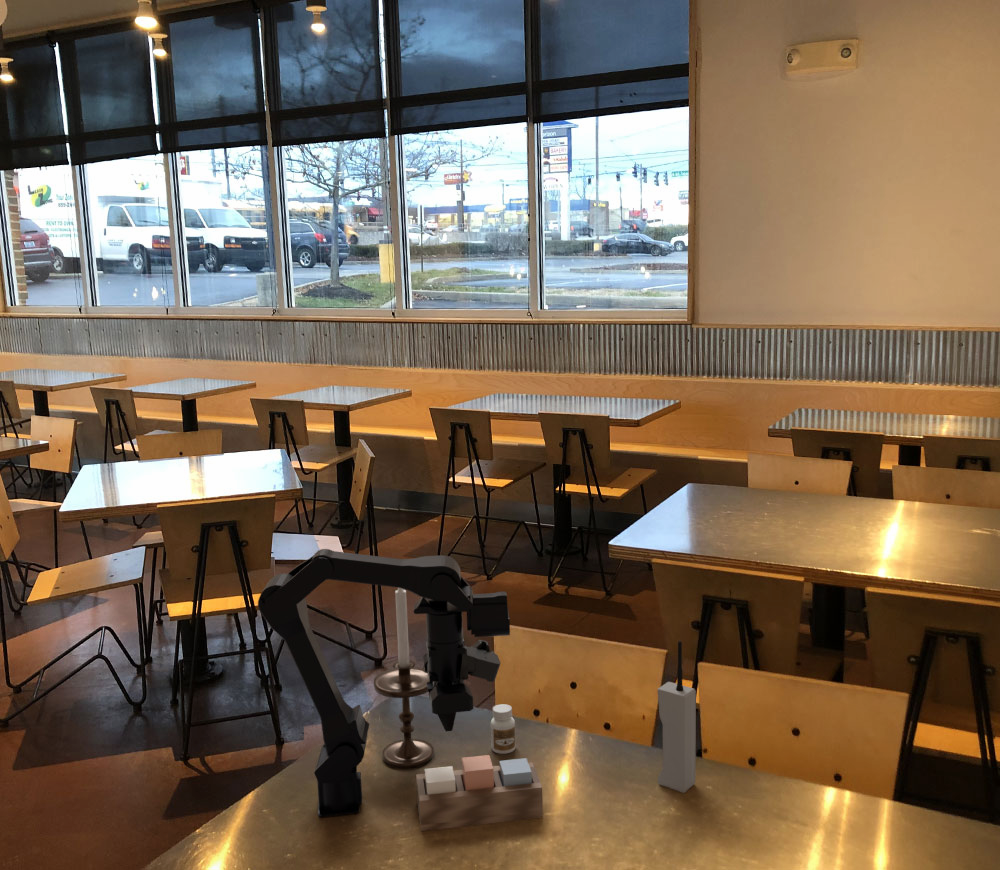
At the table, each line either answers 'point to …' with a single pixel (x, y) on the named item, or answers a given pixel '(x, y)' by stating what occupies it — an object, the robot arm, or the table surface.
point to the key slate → (515, 772)
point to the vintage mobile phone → (678, 732)
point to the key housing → (479, 803)
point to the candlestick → (404, 696)
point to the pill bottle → (503, 729)
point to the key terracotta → (477, 772)
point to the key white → (439, 780)
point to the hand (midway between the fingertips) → (448, 730)
